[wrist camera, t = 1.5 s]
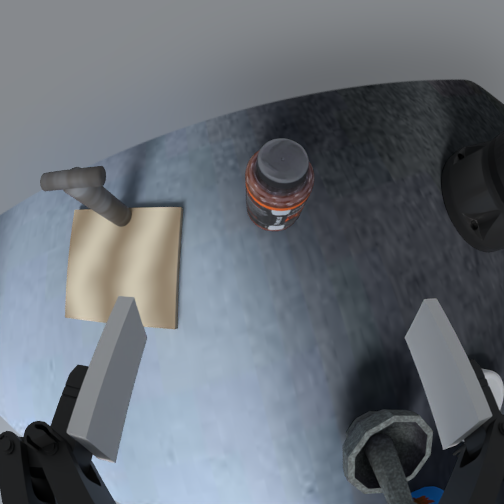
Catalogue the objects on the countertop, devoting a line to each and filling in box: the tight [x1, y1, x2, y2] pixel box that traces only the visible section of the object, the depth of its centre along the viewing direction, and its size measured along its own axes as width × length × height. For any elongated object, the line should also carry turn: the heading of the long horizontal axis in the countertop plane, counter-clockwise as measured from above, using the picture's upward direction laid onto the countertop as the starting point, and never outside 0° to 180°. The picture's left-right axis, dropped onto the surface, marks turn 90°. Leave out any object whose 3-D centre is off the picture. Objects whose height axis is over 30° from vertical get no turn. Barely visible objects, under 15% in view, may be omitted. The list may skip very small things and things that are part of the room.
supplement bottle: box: [245, 138, 314, 231], centre depth 28 cm, size 6×6×11 cm
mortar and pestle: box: [343, 409, 433, 504], centre depth 23 cm, size 11×9×12 cm
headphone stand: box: [40, 166, 183, 329], centre depth 26 cm, size 14×13×13 cm
